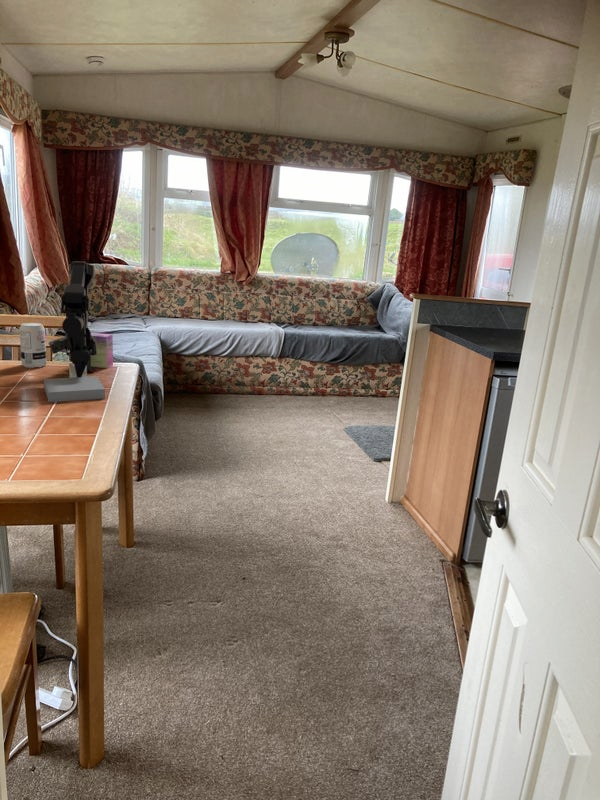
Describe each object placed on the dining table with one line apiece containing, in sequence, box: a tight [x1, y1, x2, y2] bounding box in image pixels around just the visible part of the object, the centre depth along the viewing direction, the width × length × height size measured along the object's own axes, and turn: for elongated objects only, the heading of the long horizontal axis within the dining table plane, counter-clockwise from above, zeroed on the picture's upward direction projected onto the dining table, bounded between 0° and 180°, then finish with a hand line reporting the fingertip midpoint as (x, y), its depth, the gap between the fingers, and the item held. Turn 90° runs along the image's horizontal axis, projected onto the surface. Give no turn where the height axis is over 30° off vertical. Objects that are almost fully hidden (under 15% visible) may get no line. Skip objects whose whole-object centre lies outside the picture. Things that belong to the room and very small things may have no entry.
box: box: [90, 332, 114, 369], centre depth 222 cm, size 10×6×12 cm, turn 84°
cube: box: [68, 362, 88, 378], centre depth 201 cm, size 5×5×5 cm
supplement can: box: [18, 322, 48, 369], centre depth 216 cm, size 8×8×15 cm
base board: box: [43, 375, 106, 403], centre depth 188 cm, size 16×16×3 cm
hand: (78, 376), depth 202 cm, fingers closed on cube, 5 cm apart
